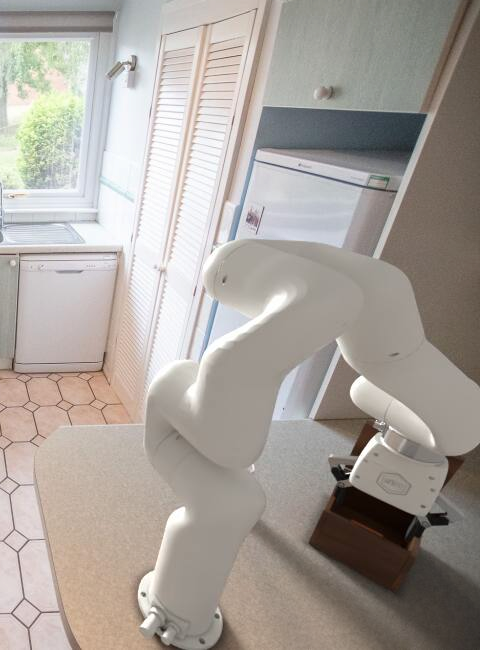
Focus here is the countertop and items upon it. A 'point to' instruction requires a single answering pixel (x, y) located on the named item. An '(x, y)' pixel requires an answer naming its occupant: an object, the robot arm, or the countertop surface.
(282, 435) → the countertop surface
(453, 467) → the lid
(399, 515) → the chest
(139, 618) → the countertop surface
